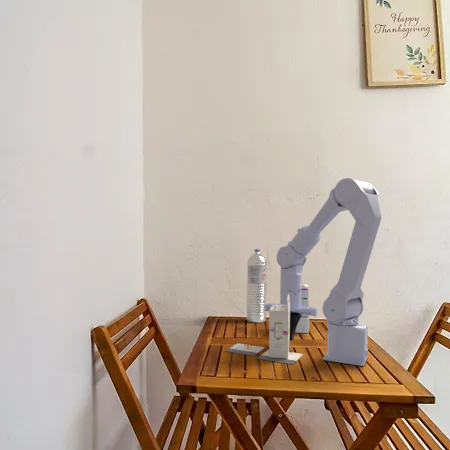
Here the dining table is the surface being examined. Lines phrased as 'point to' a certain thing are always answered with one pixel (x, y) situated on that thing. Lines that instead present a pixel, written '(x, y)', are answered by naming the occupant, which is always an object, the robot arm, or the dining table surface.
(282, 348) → the ink cartridge box
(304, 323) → the syrup box
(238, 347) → the grey-blue label card
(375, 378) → the dining table surface
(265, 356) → the cream label card
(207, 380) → the dining table surface
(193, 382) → the dining table surface
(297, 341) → the dining table surface
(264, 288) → the water bottle
